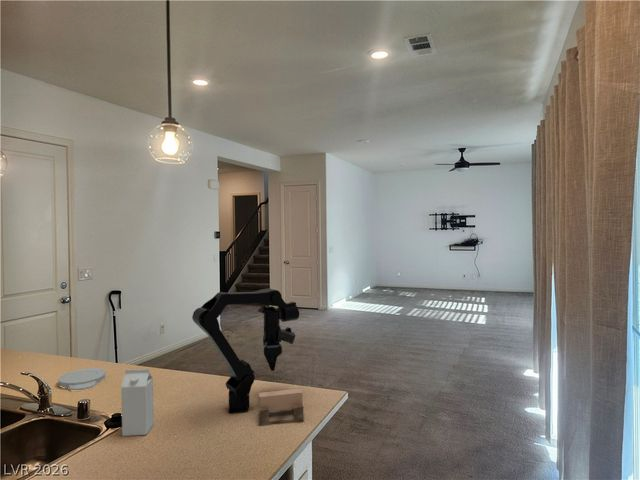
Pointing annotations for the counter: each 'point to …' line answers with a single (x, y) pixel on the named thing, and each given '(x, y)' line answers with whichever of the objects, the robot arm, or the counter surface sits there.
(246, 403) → the robot arm
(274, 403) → the clay bar
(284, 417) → the bracket
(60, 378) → the lid
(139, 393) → the milk carton
